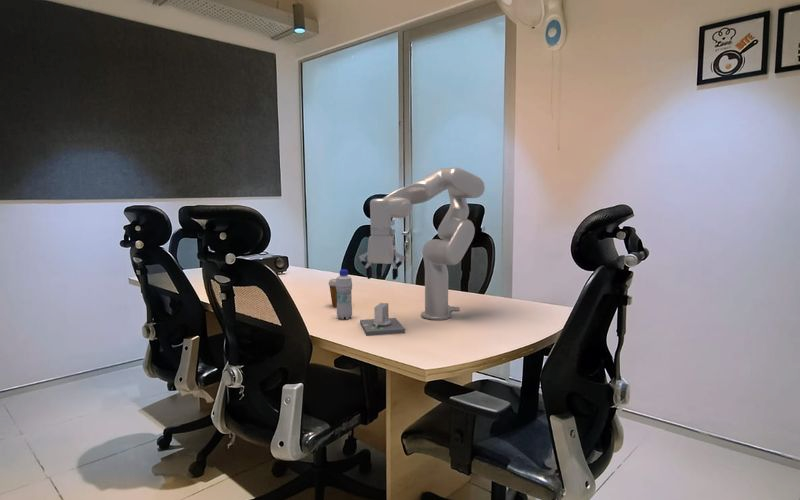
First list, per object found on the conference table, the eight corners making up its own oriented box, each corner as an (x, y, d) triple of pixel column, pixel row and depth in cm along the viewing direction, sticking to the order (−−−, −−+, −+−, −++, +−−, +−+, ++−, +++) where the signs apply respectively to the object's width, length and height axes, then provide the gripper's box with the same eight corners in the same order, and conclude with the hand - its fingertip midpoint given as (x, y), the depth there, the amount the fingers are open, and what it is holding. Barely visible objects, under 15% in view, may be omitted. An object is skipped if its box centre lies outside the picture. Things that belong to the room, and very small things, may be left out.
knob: (393, 321, 182) (393, 303, 181) (385, 328, 172) (385, 309, 171) (376, 320, 184) (375, 302, 183) (367, 327, 174) (367, 308, 173)
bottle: (349, 320, 191) (349, 270, 188) (333, 319, 192) (333, 270, 190) (354, 316, 197) (354, 268, 195) (339, 315, 198) (338, 267, 196)
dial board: (395, 321, 189) (395, 317, 189) (405, 333, 172) (405, 328, 172) (360, 323, 186) (360, 319, 186) (366, 335, 169) (366, 331, 169)
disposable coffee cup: (348, 308, 211) (348, 281, 210) (327, 308, 211) (326, 282, 210) (351, 304, 221) (350, 278, 219) (330, 304, 221) (330, 278, 219)
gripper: (406, 231, 177) (407, 277, 179) (362, 231, 181) (363, 276, 183) (401, 233, 169) (402, 281, 171) (355, 233, 174) (356, 279, 176)
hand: (382, 278), depth 177 cm, fingers open, 9 cm apart
